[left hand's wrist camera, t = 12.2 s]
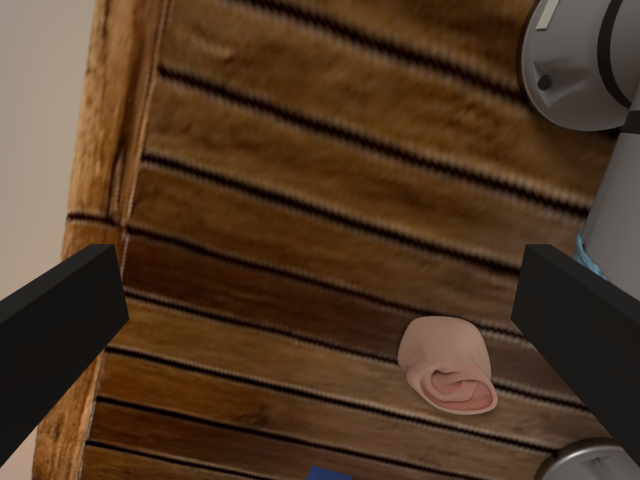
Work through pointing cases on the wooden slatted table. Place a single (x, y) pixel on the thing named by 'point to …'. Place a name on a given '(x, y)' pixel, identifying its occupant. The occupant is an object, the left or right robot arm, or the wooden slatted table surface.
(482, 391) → the anatomical model
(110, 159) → the wooden slatted table surface
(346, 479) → the bar
